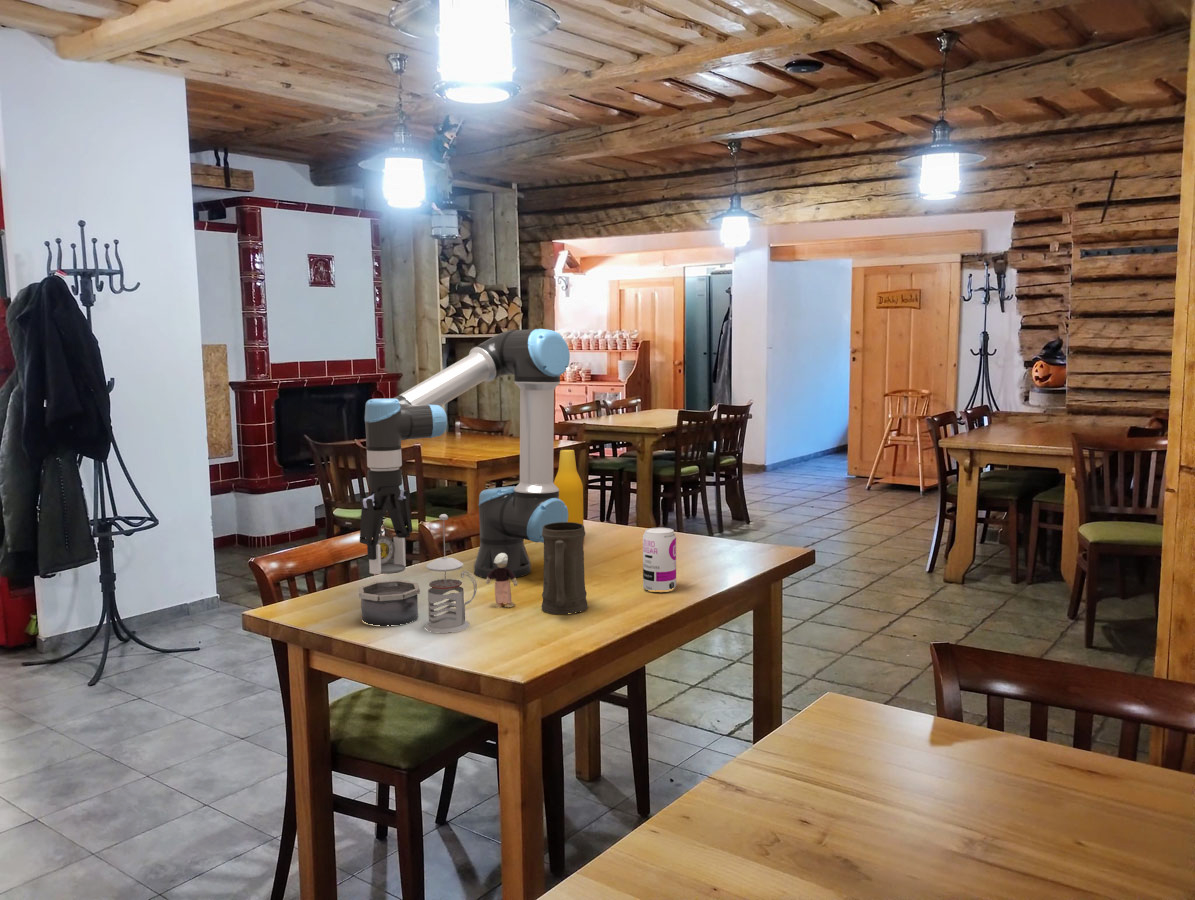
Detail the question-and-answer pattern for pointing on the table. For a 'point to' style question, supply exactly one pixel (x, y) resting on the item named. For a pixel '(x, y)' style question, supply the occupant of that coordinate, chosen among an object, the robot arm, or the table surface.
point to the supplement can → (659, 559)
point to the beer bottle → (570, 486)
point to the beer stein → (564, 568)
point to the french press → (453, 617)
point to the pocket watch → (388, 555)
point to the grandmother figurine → (502, 581)
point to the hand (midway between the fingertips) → (387, 569)
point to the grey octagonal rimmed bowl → (389, 602)
